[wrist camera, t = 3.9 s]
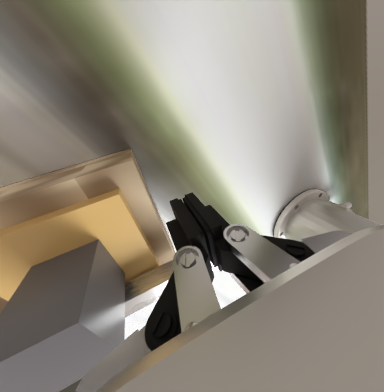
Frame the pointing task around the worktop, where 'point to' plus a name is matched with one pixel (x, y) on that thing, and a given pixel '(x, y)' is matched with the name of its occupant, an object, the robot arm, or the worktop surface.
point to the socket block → (87, 196)
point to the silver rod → (147, 287)
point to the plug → (67, 291)
